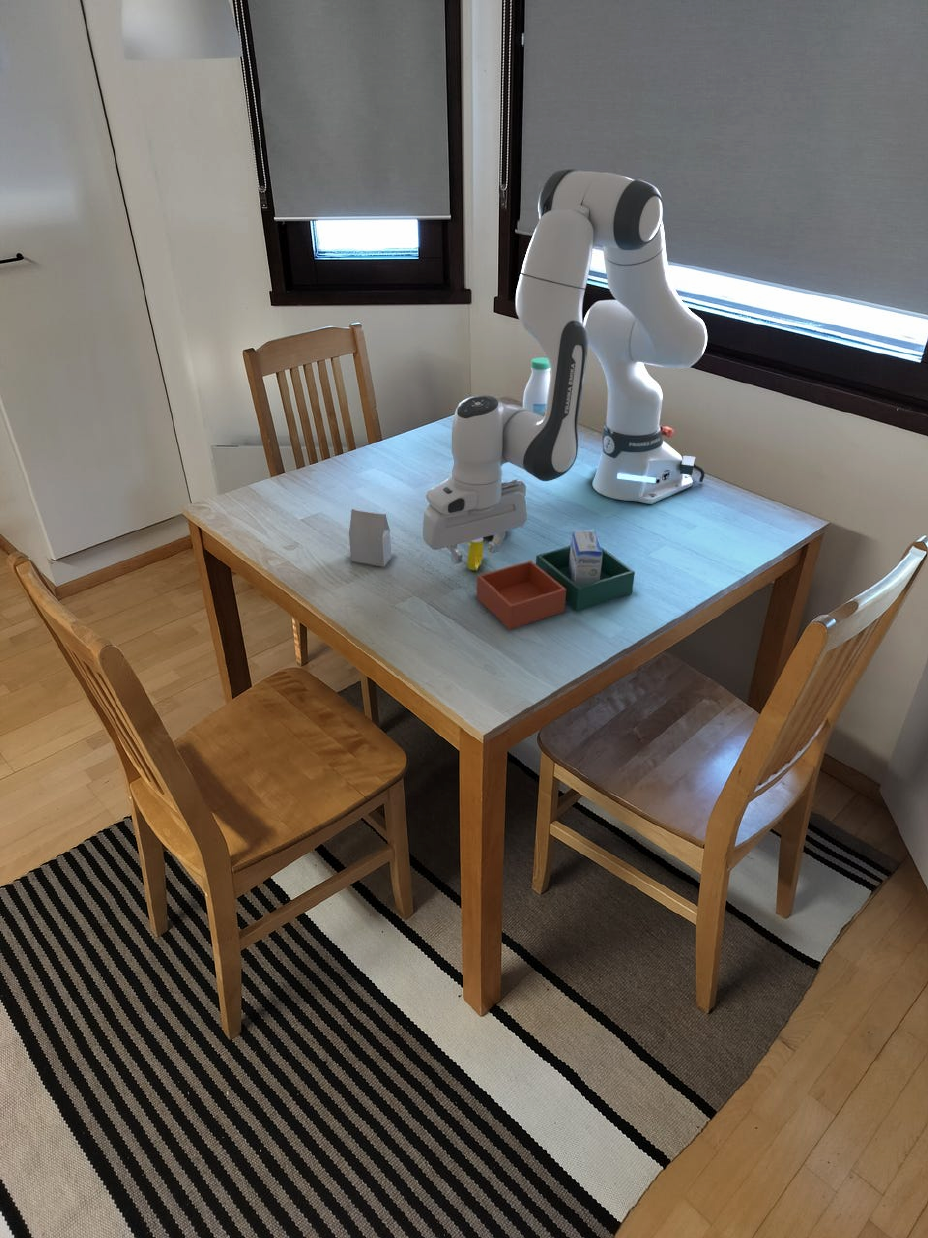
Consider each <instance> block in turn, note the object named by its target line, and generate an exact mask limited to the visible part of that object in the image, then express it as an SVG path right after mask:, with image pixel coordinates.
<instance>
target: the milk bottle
mask: <svg viewBox="0 0 928 1238" xmlns="http://www.w3.org/2000/svg"><path fill="white" fill-rule="evenodd" d="M530 370H531V374H530V376H529V379H528V381H527V383H526V386H525V388H524V391H523V397H522V407H523V408H525V409H528V410H530V411H532V412H534V413H536V414H539V415H541V416H543V417H544V416H545V411H546V403H547V396H548V388H549V380H550V364H549V360H548V357H534V358H532V359H531V362H530Z"/></svg>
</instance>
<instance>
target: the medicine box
mask: <svg viewBox="0 0 928 1238" xmlns="http://www.w3.org/2000/svg"><path fill="white" fill-rule="evenodd" d="M570 539H571V540H570V546H571V549H570V559H569V568H568V571H569V574H570V578H571V581H572V582H574V583H575V584H576V585H577V586H579V587H581V586H584V585H587V584H591V583H594V582H597V581H600V573H601V565H602V556H603V552H602V550H601V547H602V546H601V543H600V540H599V537H598V534H597V531H596V530H590V529H587V530H586V529H584V530H583V529H582V530H573V531H572V532H571V538H570Z"/></svg>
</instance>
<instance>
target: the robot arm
mask: <svg viewBox="0 0 928 1238" xmlns="http://www.w3.org/2000/svg"><path fill="white" fill-rule="evenodd" d="M537 202H538V203H537V211H538V213H537V214H538V218H539V219H538V222H537V224H536V227H535V229H534V231H533V234H532V237H531V239H530V242H529V244H528V247H527V250H526V254H525V257H524V260H523V263H522V267H521V271H520V275H519V280H518V283H517V288H516V293H515V312H516V316H517V317H518V320H519V322H520V324H521V325H522V327H523V328H524V330H525V331H526V332H527V333H528V334H529V335H530V336H531V337H532V338H533V339H534V340H535V342H537V343H538V345H539V346H540V347H541V348H542V350H543V352H544V353H545V355H546V358H548V360H549V364H550V371H549V373H550V380H549V388H548V396H547V403H546V411H545V416H544V417H543V416H541V415H539V414H536V413H534V412H532V411H530V410H528V409H525V408H523V406H520V405H517V404H513V403H503V402H501V401H499V400H498V399H497V398H495V397H494V396H490V395H482V394H481V395H473V396H470V397H468V398H466V399H464V400H462V401H461V402H459V404H458V405H457V407H456V409H455V411H454V415H453V420H452V426H451V427H452V429H451V455H452V457H453V466H452V469H451V476H449V477H448V478H447V479H445V480H444V481H442V482H441V483H439V484H438V485H436V486H434V487H433V488H430V489H429V490H428V491H427V492H426V495H425V498H426V501H427V502H428V505H427V506H426V508H425V510H424V513H423V521H422V539H423V541H424V543H425V544H426V545H427V546H428V547H430V548H431V549H432V550H433V551H438V550H441V549H447V550H448V551H449V553H450V560H451V563H453V564H454V565H457V564H462V563H463V562H464V561H463V558H464V555H463V553H461V552H460V551H459V550H457V549H458V545H460V544H464V543H469V542H468V541H472V540H475V539H479V538H483V537H486V536H490V535H494V534H495V536H494V538H493V540H492V541H489V542H488V548H487V550H488V551H489V553H491V554H492V555H493V554H497V553H500V551H501V544H502V543H503V541H504V540H505V538H506V536H507V533H506V531H507V532H509V531H513V530H516V529H521V528H523V527H524V526H525V524H526V523H527V521H528V520H527V519H528V511H527V501H526V495H527V486H526V484H525V482H524V481H522V480H519V479H512V480H511V481H510V480H509V481H504V482H503V481H502V479H503V470H502V466H503V465H505V464H507V463H508V464H509V463H510V464H511V465H513V466H516V467H518V468H519V469H522V470H524V471H525V472H527V474H530V475H531V476H532V477H534V478H536V479H538V480H539V481H541V482H549V481H553V480H556V479H558V478H560V477H562V476H563V475H565V474H567V473H568V472H569V471H570V470H571V469H572V467H573V466H574V464H575V462H576V459H577V457H578V451H579V429H578V428H579V418H580V412H581V404H582V396H583V389H584V382H585V375H586V369H587V359H588V349H590V350H591V351H592V353H593V354H594V355H595V356H596V358H597V360H598V361H599V364H600V366H601V367H602V370H603V373H604V376H605V381H606V385H607V407H606V421H605V422H604V423H603V428H602V429H603V430H602V439H601V440H602V449H601V454H600V458H599V463H598V466H597V470H596V473H595V476H594V478H593V480H592V487H593V489H594V490H595V491H596V492H597V493H599V494H600V495H602V496H604V497H607V498H610V499H612V500H613V499H614V500H618V501H625V502H626V501H628V502H638V503H643V504H648V505H650V504H651V505H652V504H654V503H658V502H659V501H661V500H664V499H666V498H669V497H670V496H673V495H675V494H677V493H680V492H681V491H684V490H687V489H689V488H691V487H693V485H694V484H693V483H694V481H693V479H692V477H691V476H693V472H694V469H695V470H697V471H698V472H699V474H700V477H699V479H698V482H699V483H702V482H703V481H704V479H705V470H704V469H703V468H702V467H700V466H699V465H697V464H696V463H695V461H696V456H690V455H683V456H681V454H680V453H679V452H678V451H677V450H675V449H674V448H673V447H672V446H670V445H669V443H667V442H665V441H664V436H665V438H667V439H670V438H672V437H673V436H674V434H675V430H674V429H673V428H671V427H669V426H668V425H667V426H662V424H660V423H661V422H660V420H661V413H662V407H663V401H664V400H663V399H664V396H663V391H662V388H661V386H660V384H659V383H658V382H657V381H656V380H655V379H654V378H653V377H651V375H650V374H649V373H648V371H647V369H646V367H645V365H649V366H654V367H659V368H663V369H688V368H691V367H692V366H694V365H695V364H696V363H697V362H698V361H699V360H700V359H701V358H702V356H703V355H704V352H705V350H706V347H707V343H708V332H707V327H706V325H705V322H704V321H703V319H701V318H700V317H699V316H698V315H696V314H695V313H694V312H692V311H691V309H689V307H688V306H687V305H686V304H685V303H684V302H683V301H682V299H681V297H680V296H679V295H678V293H677V291H676V289H675V287H674V285H673V283H672V281H671V277H670V273H669V267H668V266H669V265H668V260H667V259H668V258H667V248H666V238H665V229H664V223H663V220H664V214H665V205H664V204H665V203H664V199H663V197H662V195H661V193H660V191H659V189H658V188H657V187H656V186H655V185H653V184H652V183H649V182H647V181H645V180H643V179H639V178H638V179H633V178H630V177H627V176H624V175H620V174H617V173H612V172H598V171H588V170H587V171H585V170H584V171H583V170H578V169H576V168H568V169H560V170H557V171H555V172H553V173H552V174H551V175H550V176H549V177H548V179H547V180H546V181H545V182H544V184H543V186H542V187H541V190H540V193H539V196H538V201H537ZM595 245H596V246H601V247H602V250H603V257H604V266H605V272H606V279H607V287H608V289H609V292H610V294H611V295H612V297H613V298H614V299H604V300H598V301H596V302H594V303H593V304H592V305H591V306H590V308H589V309H588V310H587V312H586V313H585V316H584V318H583V303H584V296H585V291H586V287H587V283H588V279H589V274H590V270H591V264H592V258H593V249H594V248H595ZM483 539H484V538H483Z"/></svg>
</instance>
